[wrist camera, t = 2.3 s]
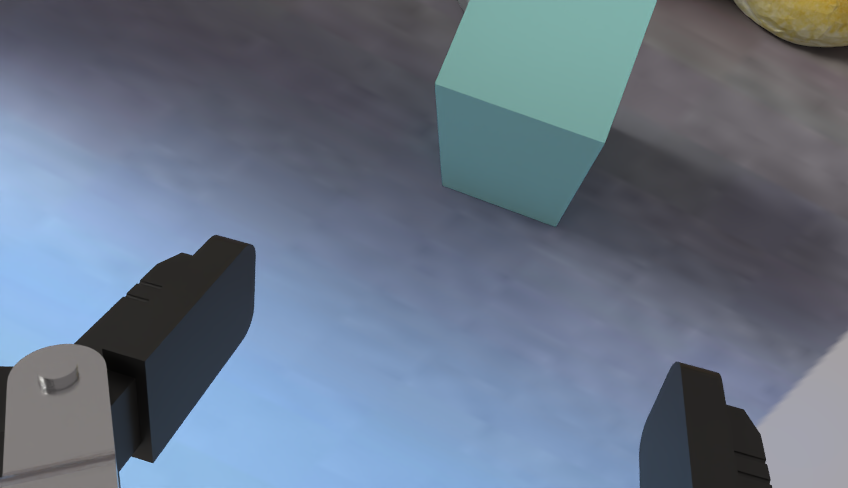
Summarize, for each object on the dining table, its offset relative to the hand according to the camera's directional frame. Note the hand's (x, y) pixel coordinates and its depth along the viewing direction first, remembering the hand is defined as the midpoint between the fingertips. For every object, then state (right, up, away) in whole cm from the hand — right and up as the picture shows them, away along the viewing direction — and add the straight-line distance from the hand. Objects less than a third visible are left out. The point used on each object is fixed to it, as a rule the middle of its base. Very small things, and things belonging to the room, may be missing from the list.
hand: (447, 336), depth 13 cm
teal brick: (+4, +6, +17) cm, 18 cm away
